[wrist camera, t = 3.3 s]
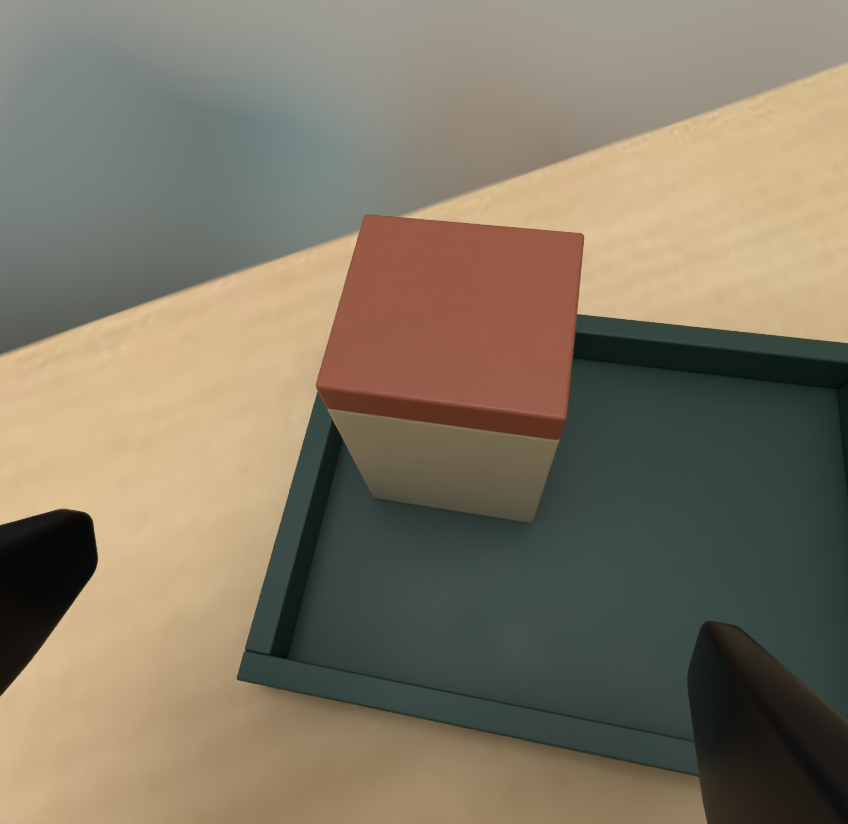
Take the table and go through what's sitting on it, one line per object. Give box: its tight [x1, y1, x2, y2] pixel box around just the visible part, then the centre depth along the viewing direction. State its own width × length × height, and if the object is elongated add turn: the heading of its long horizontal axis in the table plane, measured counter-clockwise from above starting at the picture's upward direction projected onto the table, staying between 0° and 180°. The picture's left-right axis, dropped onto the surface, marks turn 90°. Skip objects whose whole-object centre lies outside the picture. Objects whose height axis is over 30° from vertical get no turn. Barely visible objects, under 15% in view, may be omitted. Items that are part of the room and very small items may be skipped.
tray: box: [237, 314, 848, 777], centre depth 20 cm, size 14×19×2 cm
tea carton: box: [316, 215, 584, 523], centre depth 18 cm, size 5×6×8 cm
